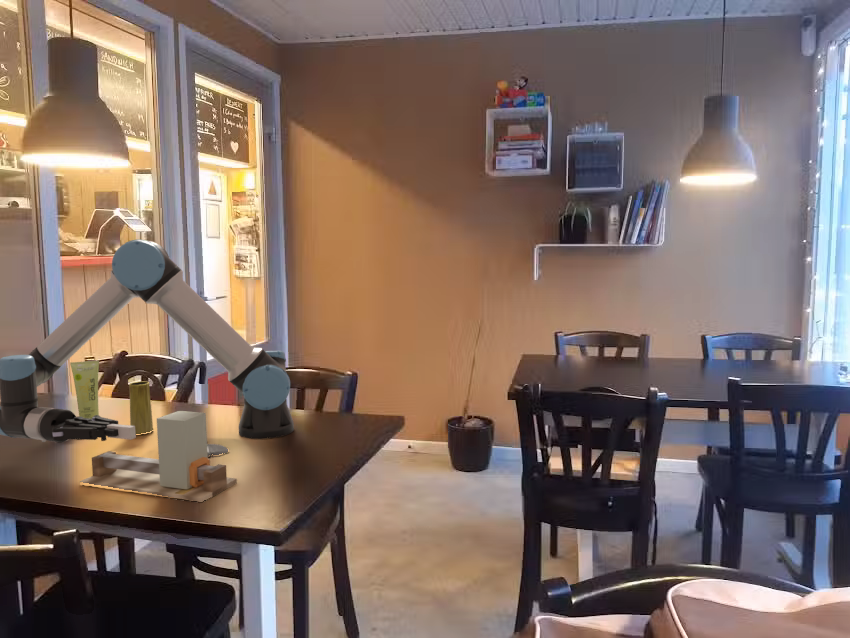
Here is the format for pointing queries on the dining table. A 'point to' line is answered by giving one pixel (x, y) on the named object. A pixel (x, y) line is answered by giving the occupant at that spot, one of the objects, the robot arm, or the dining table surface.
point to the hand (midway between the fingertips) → (132, 432)
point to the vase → (140, 407)
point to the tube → (86, 387)
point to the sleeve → (182, 448)
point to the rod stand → (154, 477)
